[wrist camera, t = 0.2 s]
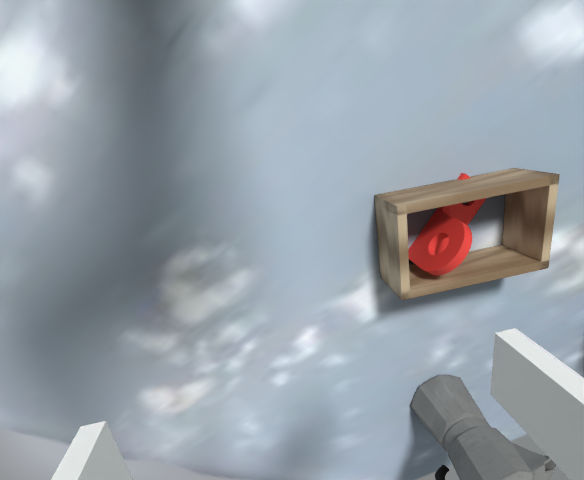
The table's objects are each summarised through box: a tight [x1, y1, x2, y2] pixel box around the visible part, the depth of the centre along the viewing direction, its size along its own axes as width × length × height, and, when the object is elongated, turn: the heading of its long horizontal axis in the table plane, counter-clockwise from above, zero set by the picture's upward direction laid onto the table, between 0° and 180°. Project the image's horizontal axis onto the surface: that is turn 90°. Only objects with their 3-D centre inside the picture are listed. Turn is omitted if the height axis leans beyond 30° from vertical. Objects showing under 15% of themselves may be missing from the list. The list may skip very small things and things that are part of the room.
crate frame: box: [375, 168, 559, 300], centre depth 38 cm, size 11×18×6 cm, turn 99°
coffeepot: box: [411, 375, 556, 480], centre depth 42 cm, size 15×9×18 cm, turn 143°
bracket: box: [408, 173, 487, 275], centre depth 38 cm, size 12×4×8 cm, turn 149°
